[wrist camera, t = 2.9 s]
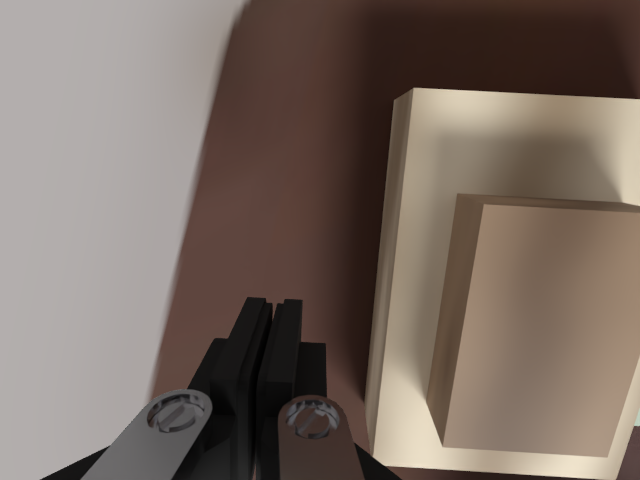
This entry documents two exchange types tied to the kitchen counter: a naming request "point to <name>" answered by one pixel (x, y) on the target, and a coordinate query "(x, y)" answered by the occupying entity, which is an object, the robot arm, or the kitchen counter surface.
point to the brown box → (536, 325)
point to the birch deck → (435, 233)
